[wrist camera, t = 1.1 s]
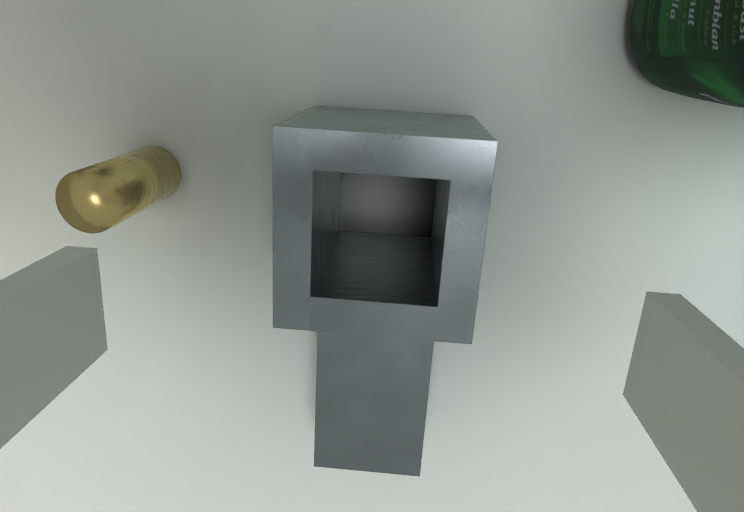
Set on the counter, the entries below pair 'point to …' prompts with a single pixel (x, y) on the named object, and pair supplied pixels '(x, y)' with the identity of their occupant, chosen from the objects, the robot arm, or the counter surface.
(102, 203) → the pin
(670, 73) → the coffee jar
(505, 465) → the counter surface
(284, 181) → the link
